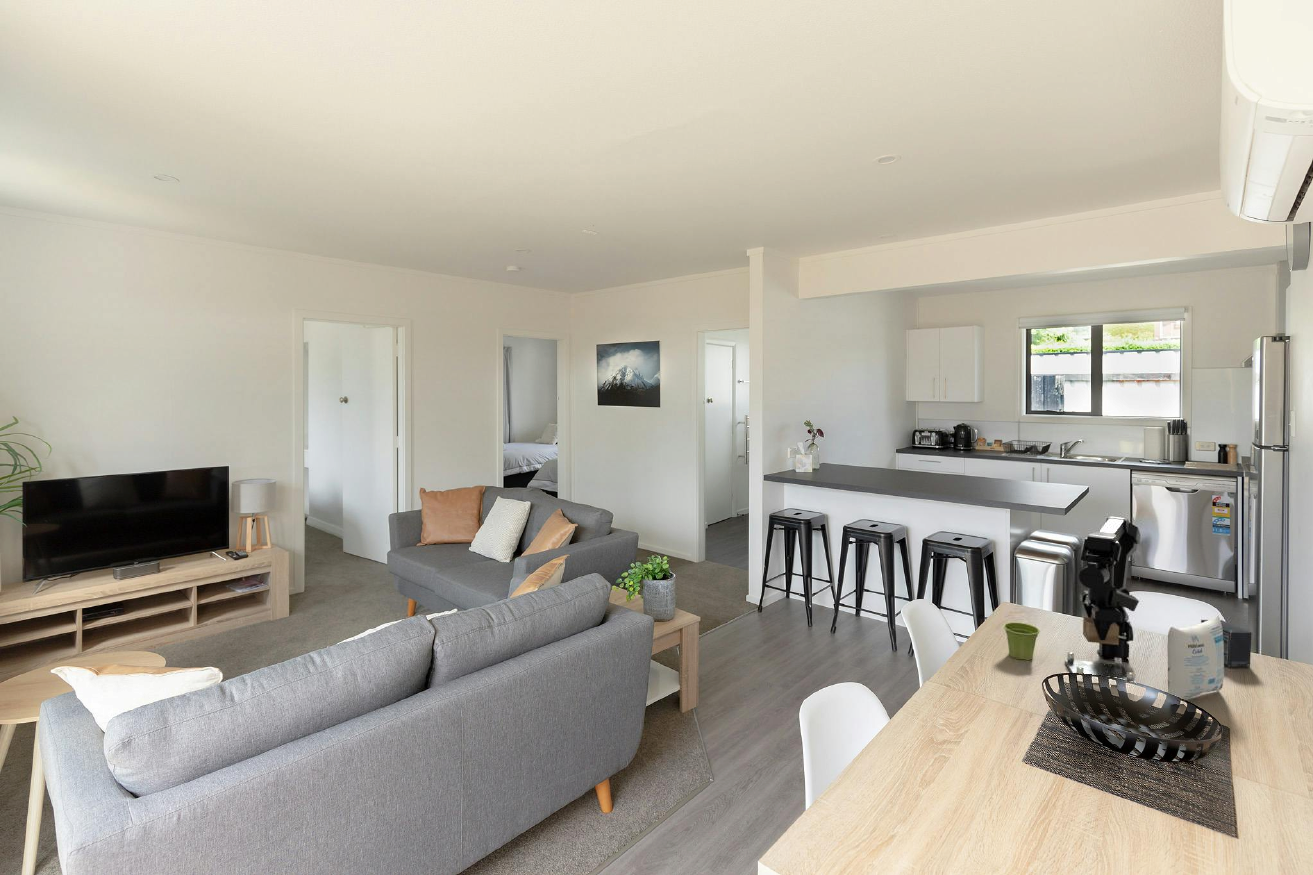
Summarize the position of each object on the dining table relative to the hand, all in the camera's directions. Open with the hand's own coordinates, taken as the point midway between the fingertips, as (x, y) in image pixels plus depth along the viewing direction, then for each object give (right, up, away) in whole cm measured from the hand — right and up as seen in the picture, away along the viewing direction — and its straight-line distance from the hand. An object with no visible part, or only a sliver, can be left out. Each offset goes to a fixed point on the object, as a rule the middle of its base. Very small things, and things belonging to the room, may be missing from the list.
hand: (1099, 635), depth 182 cm
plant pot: (-14, -11, +14) cm, 23 cm away
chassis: (0, -11, +1) cm, 11 cm away
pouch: (+15, -12, -14) cm, 24 cm away
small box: (+41, -10, +8) cm, 43 cm away
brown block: (0, -1, 0) cm, 1 cm away
